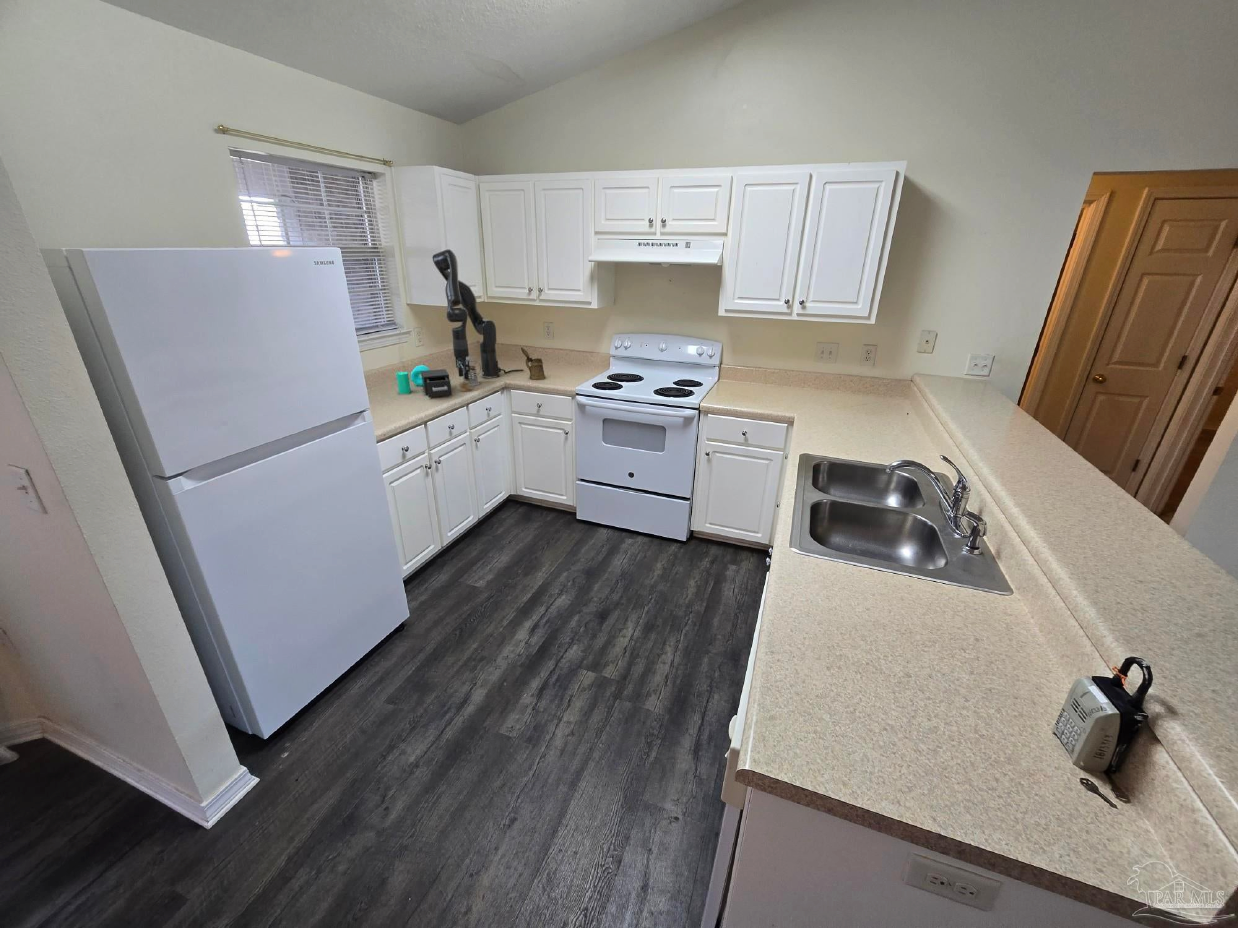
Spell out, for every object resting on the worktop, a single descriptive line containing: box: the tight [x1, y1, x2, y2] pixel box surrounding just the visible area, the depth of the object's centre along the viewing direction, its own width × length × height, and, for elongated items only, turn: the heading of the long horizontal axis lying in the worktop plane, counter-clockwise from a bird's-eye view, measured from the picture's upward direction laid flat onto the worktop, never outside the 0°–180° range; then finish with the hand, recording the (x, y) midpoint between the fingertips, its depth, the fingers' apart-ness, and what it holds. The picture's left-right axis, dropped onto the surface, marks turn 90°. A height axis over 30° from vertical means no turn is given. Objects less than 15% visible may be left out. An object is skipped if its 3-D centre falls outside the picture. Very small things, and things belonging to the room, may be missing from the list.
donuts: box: [410, 364, 431, 387], centre depth 286 cm, size 10×10×10 cm
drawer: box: [426, 377, 453, 399], centre depth 263 cm, size 18×12×8 cm, turn 24°
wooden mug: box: [520, 347, 546, 381], centre depth 300 cm, size 9×14×18 cm, turn 84°
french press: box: [462, 339, 482, 387], centre depth 285 cm, size 10×12×25 cm
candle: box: [395, 369, 412, 395], centre depth 269 cm, size 6×6×12 cm
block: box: [459, 380, 471, 393], centre depth 276 cm, size 4×4×4 cm
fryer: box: [420, 368, 451, 396], centre depth 273 cm, size 15×13×10 cm
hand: (464, 378), depth 274 cm, fingers open, 8 cm apart
